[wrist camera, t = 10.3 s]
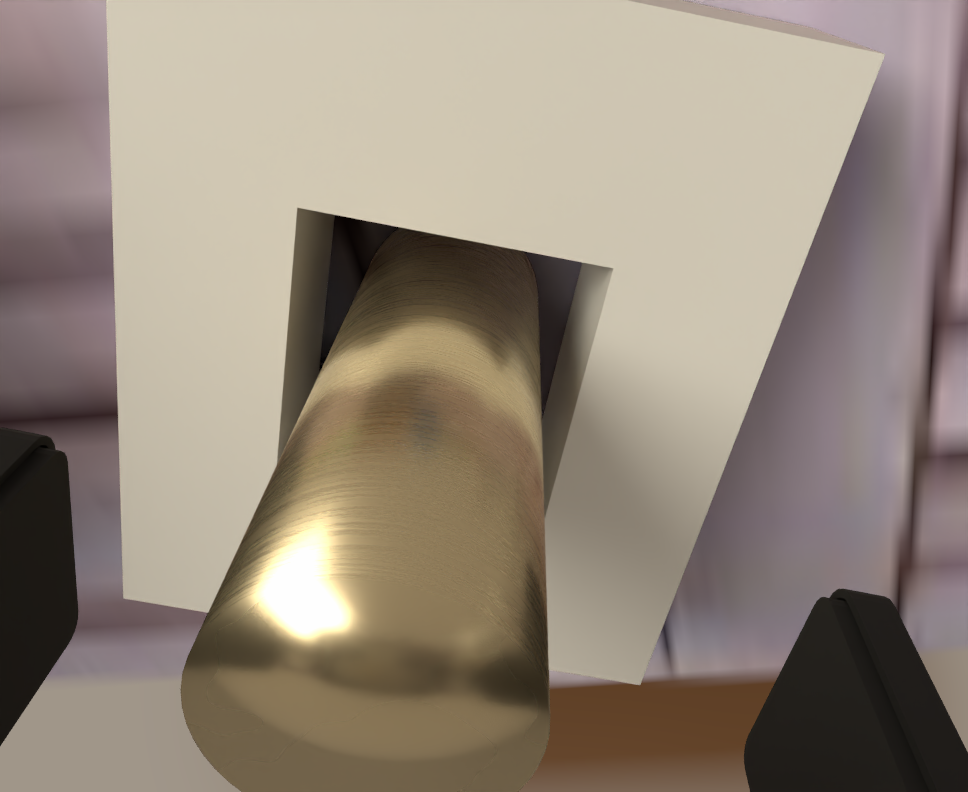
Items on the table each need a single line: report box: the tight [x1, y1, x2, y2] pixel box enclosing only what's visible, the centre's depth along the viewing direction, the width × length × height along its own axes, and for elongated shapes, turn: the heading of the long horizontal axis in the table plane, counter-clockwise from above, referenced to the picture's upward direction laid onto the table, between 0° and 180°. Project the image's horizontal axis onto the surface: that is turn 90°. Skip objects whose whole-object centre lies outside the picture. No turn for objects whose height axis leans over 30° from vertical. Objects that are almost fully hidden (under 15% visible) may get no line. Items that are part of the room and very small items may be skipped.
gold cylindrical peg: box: [181, 227, 550, 792], centre depth 15 cm, size 4×4×12 cm
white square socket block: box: [106, 0, 885, 685], centre depth 18 cm, size 12×14×4 cm
